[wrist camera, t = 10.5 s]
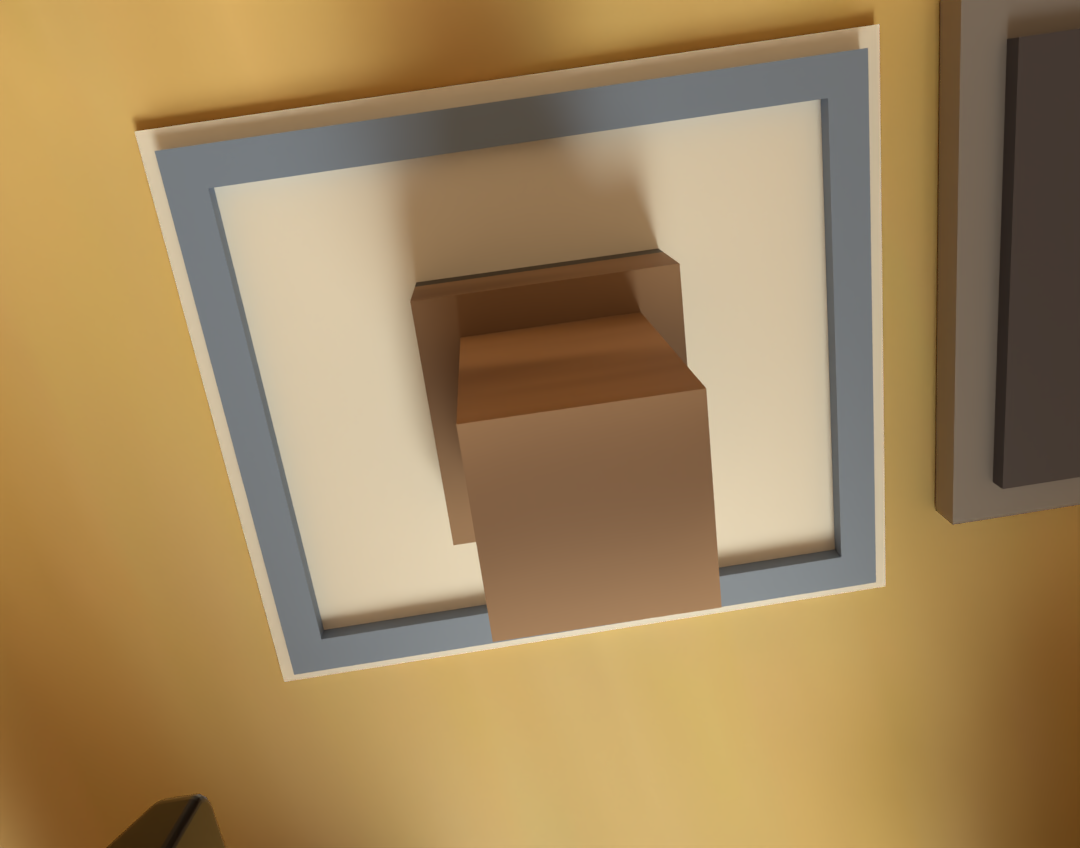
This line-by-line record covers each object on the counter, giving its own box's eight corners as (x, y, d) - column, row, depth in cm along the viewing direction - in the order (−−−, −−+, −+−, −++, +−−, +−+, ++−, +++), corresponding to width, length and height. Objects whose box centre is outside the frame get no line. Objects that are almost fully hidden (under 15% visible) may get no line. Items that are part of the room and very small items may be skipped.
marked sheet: (882, 582, 22) (893, 594, 21) (286, 676, 21) (280, 692, 21) (875, 25, 18) (889, 22, 17) (138, 131, 17) (126, 131, 17)
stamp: (677, 472, 20) (776, 645, 14) (455, 504, 20) (447, 696, 13) (657, 248, 19) (761, 321, 12) (416, 282, 18) (385, 376, 12)
